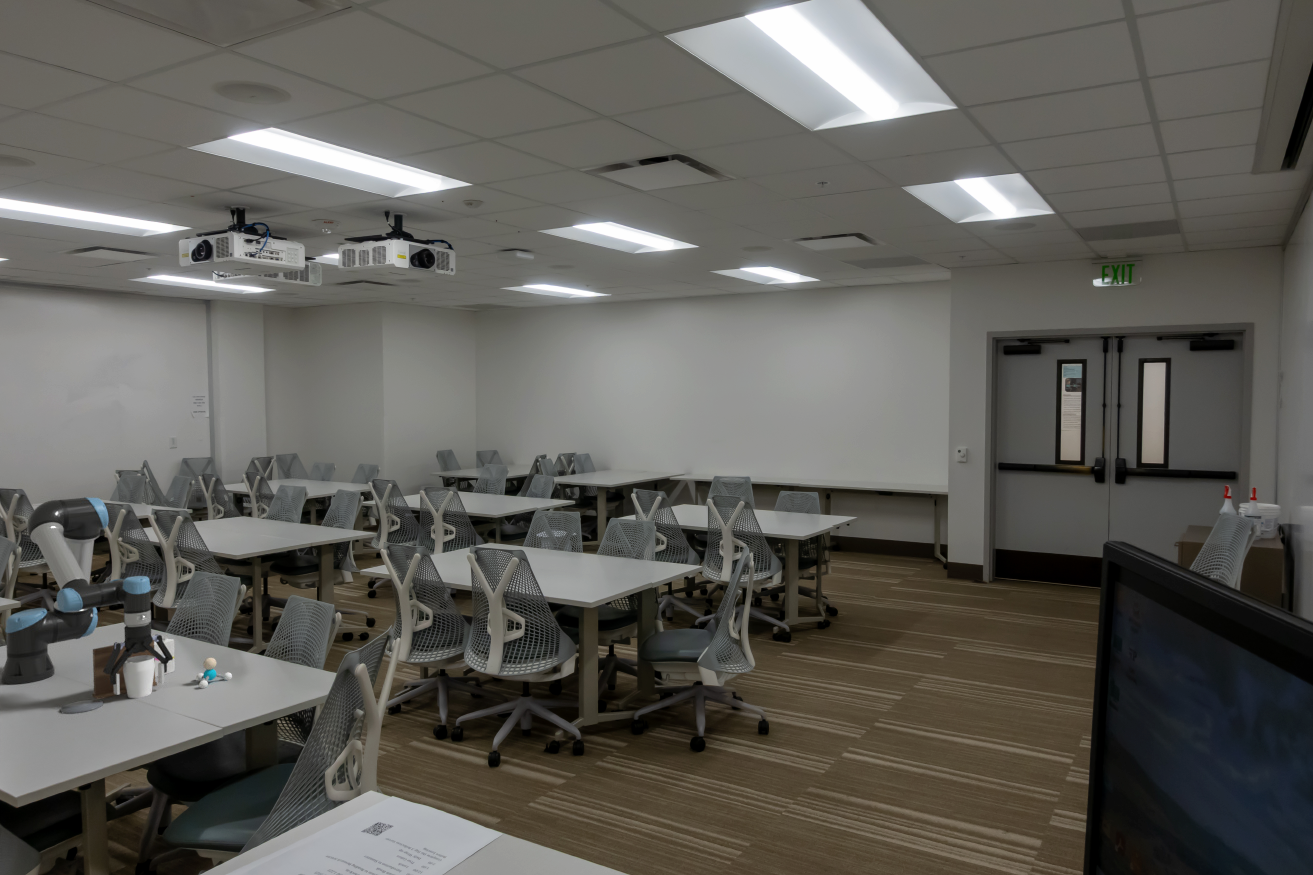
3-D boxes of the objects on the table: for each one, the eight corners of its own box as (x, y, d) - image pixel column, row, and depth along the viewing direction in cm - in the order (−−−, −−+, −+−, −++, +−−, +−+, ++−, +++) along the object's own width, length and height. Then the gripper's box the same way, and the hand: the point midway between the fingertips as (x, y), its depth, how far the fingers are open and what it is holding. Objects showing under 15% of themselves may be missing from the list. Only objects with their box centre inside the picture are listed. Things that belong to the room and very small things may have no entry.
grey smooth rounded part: (55, 708, 271) (55, 706, 271) (94, 699, 279) (94, 697, 279) (68, 715, 264) (68, 714, 264) (108, 705, 273) (108, 704, 273)
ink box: (137, 675, 305) (136, 637, 304) (158, 668, 313) (157, 632, 312) (154, 678, 302) (153, 640, 301) (175, 671, 309) (174, 634, 309)
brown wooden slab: (92, 697, 282) (91, 648, 281) (151, 682, 296) (150, 636, 295) (97, 699, 279) (96, 650, 279) (156, 685, 294) (155, 638, 293)
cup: (140, 700, 278) (139, 663, 278) (116, 698, 280) (115, 662, 279) (162, 691, 287) (161, 655, 286) (138, 689, 289) (137, 654, 288)
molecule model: (187, 683, 296) (186, 657, 296) (222, 674, 305) (222, 650, 305) (200, 690, 288) (200, 664, 288) (237, 681, 297) (236, 656, 297)
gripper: (99, 633, 270) (101, 700, 271) (182, 618, 290) (184, 680, 291) (90, 630, 275) (92, 696, 276) (172, 615, 295) (174, 676, 295)
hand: (139, 688), depth 283 cm, fingers open, 13 cm apart
